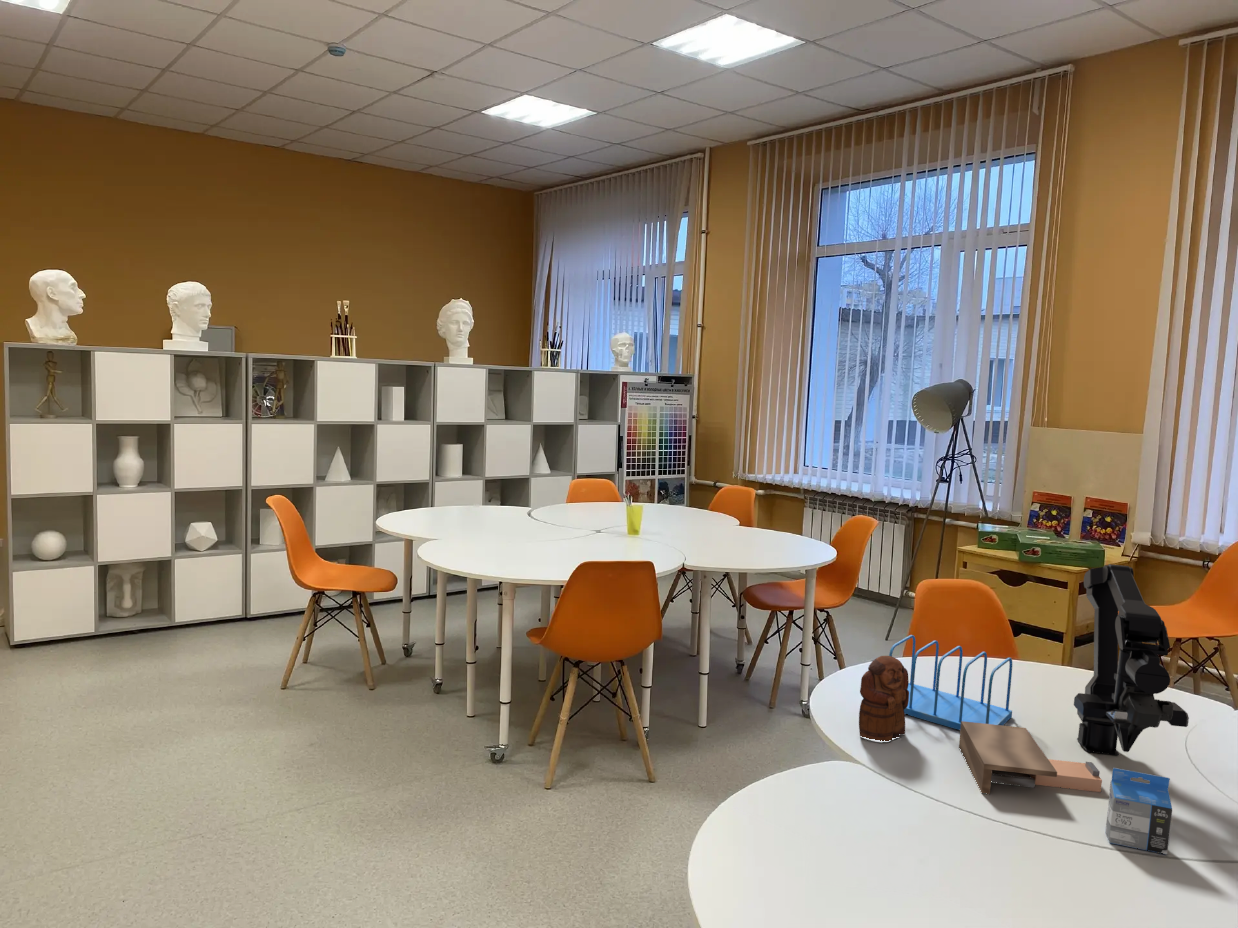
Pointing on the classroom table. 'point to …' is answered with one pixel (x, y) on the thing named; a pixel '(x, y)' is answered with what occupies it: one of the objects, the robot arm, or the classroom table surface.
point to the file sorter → (950, 706)
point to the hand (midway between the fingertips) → (1125, 750)
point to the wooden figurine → (883, 699)
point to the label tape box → (1139, 811)
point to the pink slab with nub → (1072, 776)
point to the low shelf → (1002, 754)
